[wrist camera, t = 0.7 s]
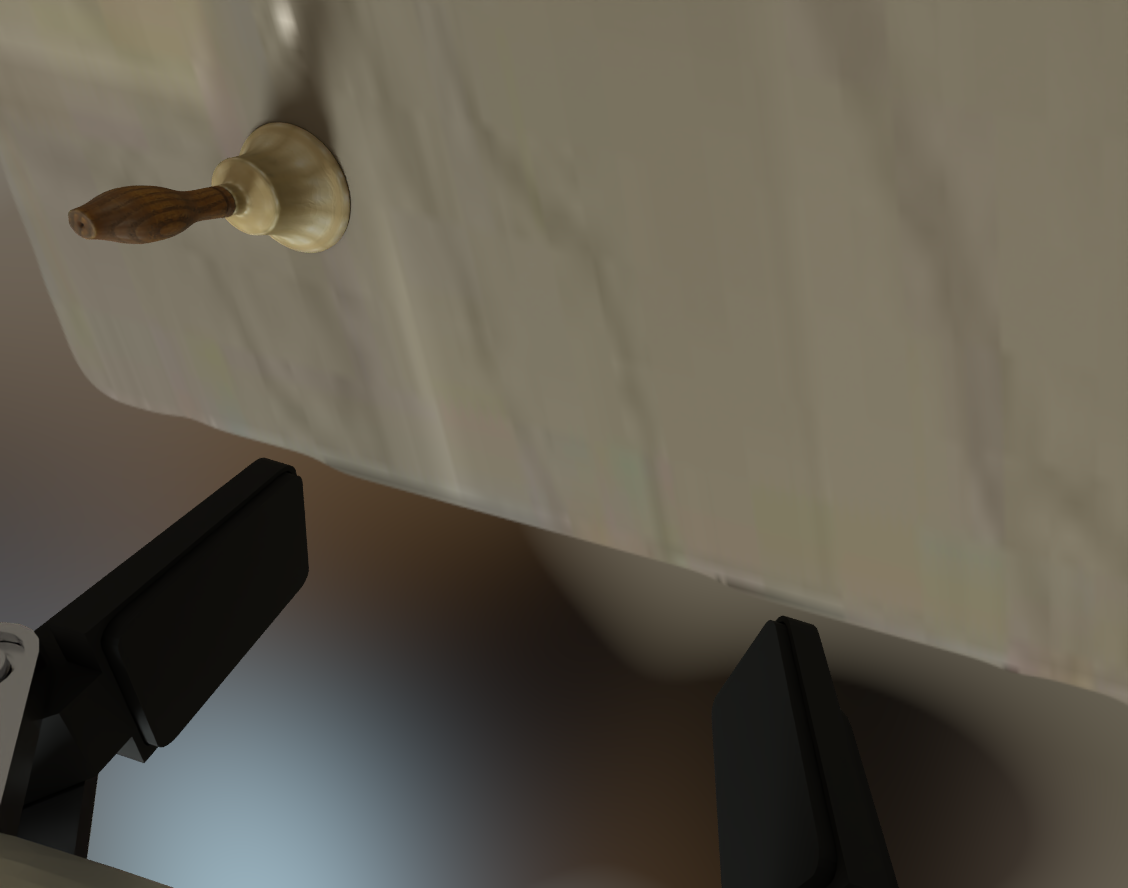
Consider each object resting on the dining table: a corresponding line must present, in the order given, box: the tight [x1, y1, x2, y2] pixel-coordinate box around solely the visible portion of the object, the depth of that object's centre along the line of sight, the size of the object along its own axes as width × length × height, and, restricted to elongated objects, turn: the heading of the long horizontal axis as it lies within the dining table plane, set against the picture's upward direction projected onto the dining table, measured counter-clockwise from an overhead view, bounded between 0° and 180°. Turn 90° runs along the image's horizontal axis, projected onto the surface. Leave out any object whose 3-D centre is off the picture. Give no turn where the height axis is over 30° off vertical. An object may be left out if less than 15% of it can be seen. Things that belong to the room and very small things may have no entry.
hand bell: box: [68, 122, 350, 253], centre depth 30 cm, size 8×8×16 cm
